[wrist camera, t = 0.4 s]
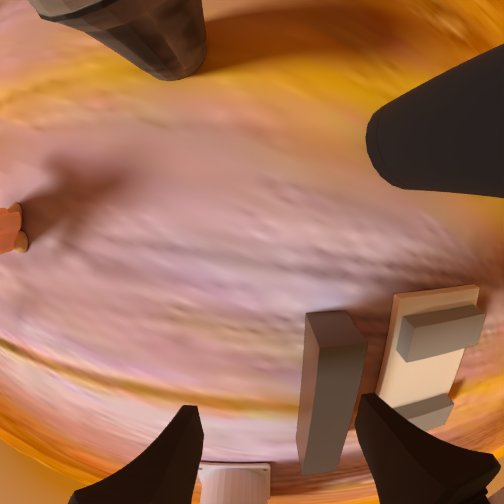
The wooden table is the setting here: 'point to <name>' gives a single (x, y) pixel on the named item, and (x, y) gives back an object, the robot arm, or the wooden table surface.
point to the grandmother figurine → (12, 230)
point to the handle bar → (328, 388)
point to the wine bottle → (445, 131)
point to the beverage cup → (139, 30)
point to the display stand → (427, 351)
